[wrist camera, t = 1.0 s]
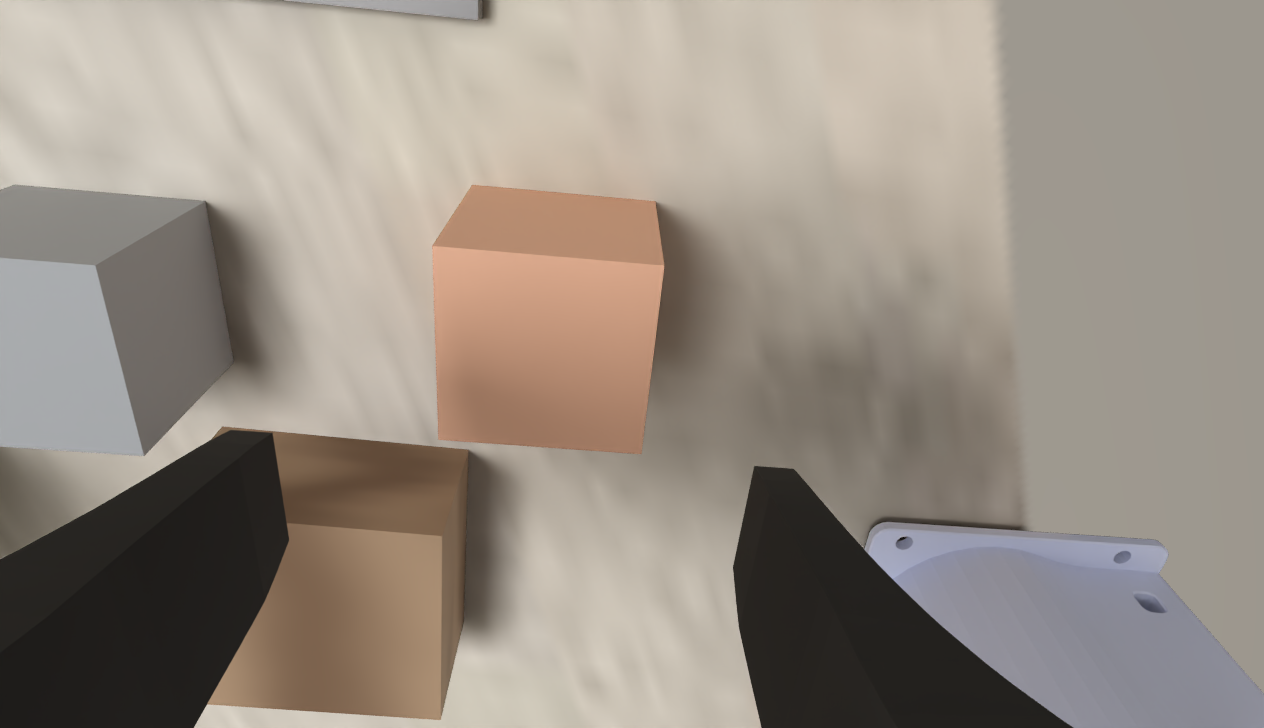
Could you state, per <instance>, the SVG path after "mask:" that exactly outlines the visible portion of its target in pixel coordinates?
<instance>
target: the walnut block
mask: <svg viewBox="0 0 1264 728" xmlns="http://www.w3.org/2000/svg"><path fill="white" fill-rule="evenodd" d="M229 430H240V431H254V432H269V433H273V439H274V445H275V451H276V458H277V464H278V471H279V477H280V483H281V490H282V496H283V503H284V509H285V515H286V522H287V528H288V535H289V542H288V545H287V547H286V550H285V552H284V555H283V558H282V560H281V563H280V566H279V568H278V571H277V573H276V576H275V578H274V581H273V583H272V585H271V588H270V590H269V593H268V595H267V597H266V600H265V602H264V604H263V606H262V607H261V609H260V611H259V613H258V615H257V617H256V618H255V620H254V622H253V624H252V626H251V627H250V629H249V631H248V633H247V635H246V636H245V638H244V640H243V642H242V644H241V645H240V647H239V649H238V651H237V652H236V654H235V656H234V658H233V659H232V661H231V663H230V665H229V666H228V668H227V670H226V672H225V673H224V675H223V677H222V679H221V681H220V682H219V684H218V686H217V688H216V689H215V691H214V693H213V695H212V696H211V698H210V700H209V702H208V703H207V704H211V705H226V706H241V707H256V708H270V709H285V710H300V711H315V712H330V713H345V714H360V715H375V716H389V717H404V718H419V719H434V720H441V716H442V712H443V707H444V703H445V699H446V695H447V690H448V686H449V682H450V678H451V673H452V669H453V665H454V660H455V656H456V652H457V648H458V643H459V639H460V635H461V631H462V626H463V622H464V596H465V560H466V524H467V488H468V452H469V450H465V449H454V448H444V447H433V446H422V445H412V444H401V443H391V442H380V441H369V440H359V439H348V438H337V437H327V436H316V435H306V434H295V433H284V432H274V431H263V430H252V429H242V428H231V427H222V428H221V429H220V430H219V431H218V432H217V434H216V435H215V436H214V437H213V438H212V439H214V438H216V437H217V436H219V435H221V434H223V433H225V432H227V431H229ZM212 439H211V440H212Z"/></svg>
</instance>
